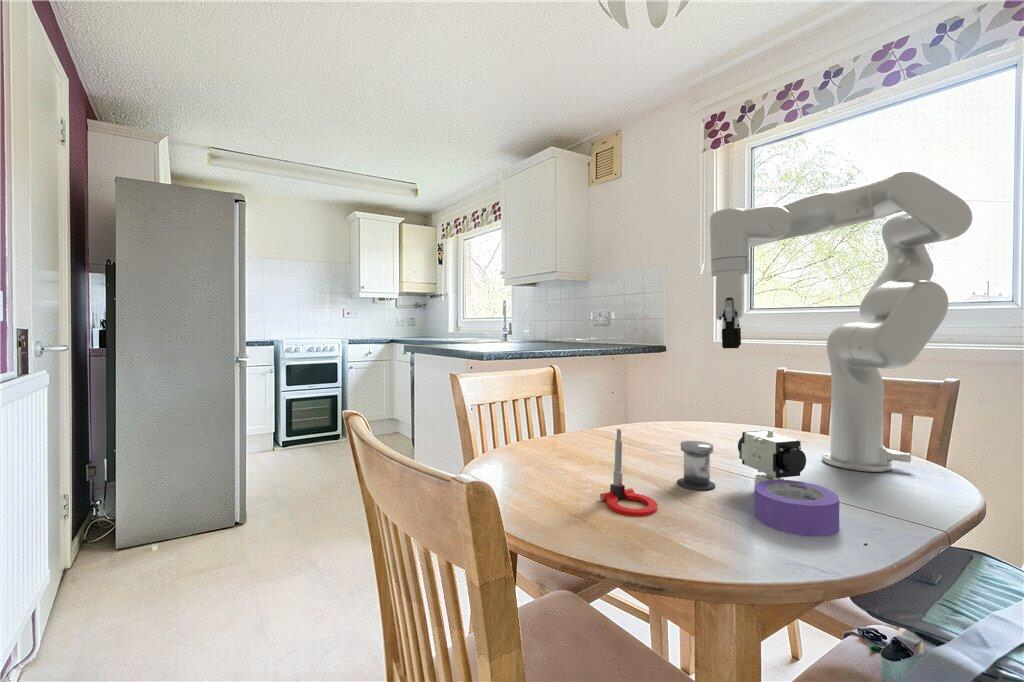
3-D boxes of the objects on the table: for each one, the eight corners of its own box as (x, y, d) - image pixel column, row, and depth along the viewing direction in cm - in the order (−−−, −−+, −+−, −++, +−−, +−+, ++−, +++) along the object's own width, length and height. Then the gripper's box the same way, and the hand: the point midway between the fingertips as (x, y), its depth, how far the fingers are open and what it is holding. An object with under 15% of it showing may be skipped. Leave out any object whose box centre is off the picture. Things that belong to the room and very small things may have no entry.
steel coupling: (714, 480, 96) (714, 442, 96) (710, 489, 91) (711, 449, 91) (683, 476, 99) (683, 439, 99) (677, 484, 94) (678, 445, 94)
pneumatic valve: (756, 483, 95) (757, 423, 95) (806, 505, 84) (807, 436, 83) (732, 486, 94) (733, 425, 93) (780, 508, 82) (781, 438, 82)
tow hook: (667, 514, 81) (633, 494, 90) (670, 439, 80) (635, 426, 89) (626, 522, 78) (595, 501, 86) (629, 444, 77) (596, 430, 85)
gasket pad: (717, 482, 96) (717, 480, 96) (713, 492, 90) (713, 491, 90) (680, 477, 99) (680, 475, 99) (674, 487, 93) (674, 485, 93)
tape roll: (796, 542, 70) (797, 508, 70) (737, 512, 81) (738, 483, 81) (858, 532, 73) (858, 499, 73) (793, 504, 84) (793, 476, 84)
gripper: (714, 272, 113) (716, 344, 114) (707, 265, 98) (709, 349, 98) (750, 269, 110) (752, 344, 110) (748, 262, 94) (750, 349, 95)
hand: (732, 346), depth 104 cm, fingers open, 9 cm apart
